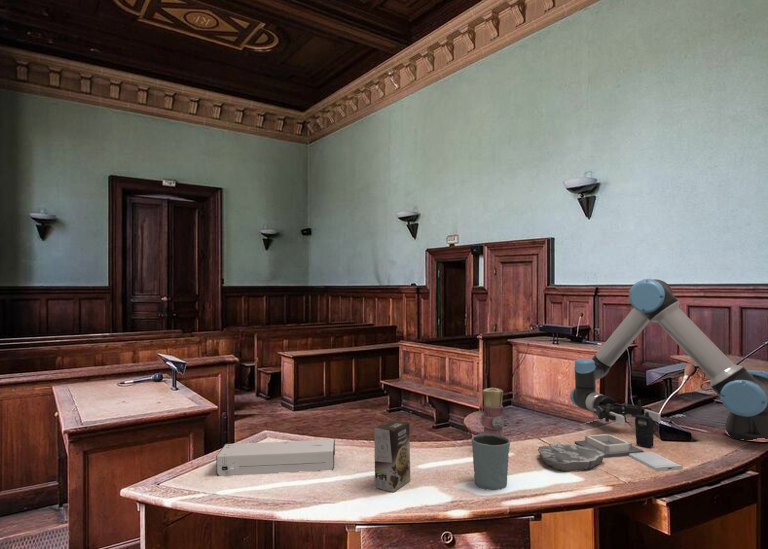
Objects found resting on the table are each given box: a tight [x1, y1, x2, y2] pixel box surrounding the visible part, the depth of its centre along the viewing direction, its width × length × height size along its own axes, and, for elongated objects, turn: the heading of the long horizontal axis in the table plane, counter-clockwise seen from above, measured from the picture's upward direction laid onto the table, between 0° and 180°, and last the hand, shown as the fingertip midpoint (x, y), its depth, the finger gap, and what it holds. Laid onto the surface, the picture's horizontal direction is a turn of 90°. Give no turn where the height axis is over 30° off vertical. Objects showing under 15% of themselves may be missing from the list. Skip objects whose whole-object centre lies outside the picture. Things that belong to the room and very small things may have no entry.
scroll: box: [479, 387, 505, 436], centre depth 158 cm, size 8×8×20 cm
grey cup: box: [471, 433, 511, 491], centre depth 132 cm, size 10×10×12 cm
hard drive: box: [628, 451, 684, 472], centre depth 145 cm, size 2×8×12 cm
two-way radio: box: [634, 399, 655, 449], centre depth 161 cm, size 6×4×15 cm
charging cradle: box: [574, 433, 645, 459], centre depth 158 cm, size 15×14×3 cm
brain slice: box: [537, 443, 605, 472], centre depth 147 cm, size 20×17×3 cm
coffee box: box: [373, 420, 411, 493], centre depth 133 cm, size 9×6×16 cm
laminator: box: [215, 439, 336, 477], centre depth 147 cm, size 34×12×6 cm, turn 95°
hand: (641, 419), depth 162 cm, fingers open, 13 cm apart
